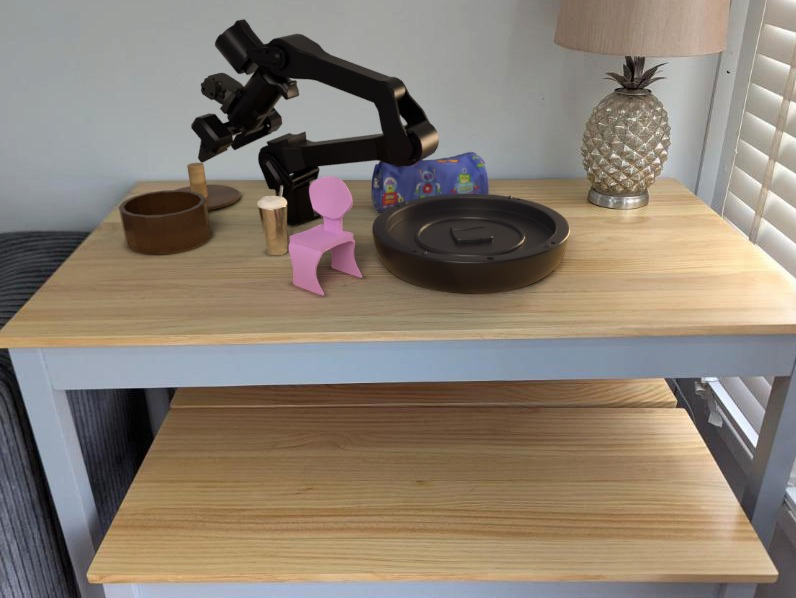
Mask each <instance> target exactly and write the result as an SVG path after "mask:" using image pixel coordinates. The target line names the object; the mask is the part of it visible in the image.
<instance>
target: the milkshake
mask: <svg viewBox="0 0 796 598" xmlns="http://www.w3.org/2000/svg"><path fill="white" fill-rule="evenodd" d="M282 191H283V186H282V185H281V186H280V194H279V196H276V195H265V196H263V197H261V198H260V199H259V200H258V201H257V209H258V213H259V217H260V222H261V225H262V231H263V236H264V241H265V247H266V251H267V254H269V255H270V256H281V255H285V254H286V253H288V224H287V201H286V199H285V198H283V197H282Z"/></svg>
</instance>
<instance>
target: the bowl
mask: <svg viewBox="0 0 796 598" xmlns="http://www.w3.org/2000/svg"><path fill="white" fill-rule="evenodd" d="M118 212H119V215H120V221H121V224H122V225H121V226H122V231H123V234H124V235H123V236H124V239H125V243H126V246H127V248H128V249H129V250H130V251H132V252H134V253H136V254H142V255H148V256H165V255H174V254H179V253H185V252H188V251H192V250H194V249H195V250H196V249H197V248H199V247H201V246H204V245H205V244H206V243H208V242H209V241H210V239H211V234H212V232H211V231H212V229H211V224H210V217H209V210H208V209H207V203H206V198H205V197H204V196H203V195H202V194H199V193H196V192H193V191H183V190H176V189H171V190H170V189H169V190H167V189H166V190H156V191H150V192H146V193H145V192H144V193H142V194H139V195H135V196H132V197H129V198H128V199H126V200H124V201H123V202H121V204H120V205H119V206H118Z"/></svg>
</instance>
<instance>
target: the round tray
mask: <svg viewBox="0 0 796 598" xmlns="http://www.w3.org/2000/svg"><path fill="white" fill-rule="evenodd" d="M371 229H372V237H373V242H374V246H375V249H376V252H377V255H378V257H379V258H380V261H381V263H382V264H383V265H384V266H385V267H386V269H388V271H389V272H390V273H391V274H393V275H394V276H395V277H397V278H399V279H400V280H402V281H405V282H407V283H409V284H411V285H414V286H416V287H420V288H424V289H428V290H433V291H438V292H445V293H446V292H447V293H453V294H490V293H491V294H492V293H501V292H508V291H512V290H516V289H517V290H518V289H520V288H524V287H527V286H530V285H533V284H534V283H537V282H539V281H541V280H543V279H545V278H547V276H549V275H550V274H551V273H552V272H553V271H554V270H555V269H556V268H557V267H558V265H559V264H560V263H561V261H562V259H563V257H564V255H565V253H566V250H567V246H568V243H569V239H570V236H571V226H570V223H569V221H568V220H567V219H566V218H565V216H563V215H562V214H561V213H559V212H558V211H556V210H555V209H553V208H551V207H549V206H547V205H544V204H541V203H539V202H535V201H532V200H529V199H524V198H519V197H515V196H512V195H508V196H507V195H501V194H492V193H491V194H490V193H489V194H446V195H437V196H429V197H423V198H418V199H414V200H410V201H406V202H403V203H400V204H398V205H395V206H393V207H391V208H389V209H387V210H385V211H384V212H380V213H379V214H378V215H377V217H376V218H375V219H374V221H373V223H372V228H371Z"/></svg>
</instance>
